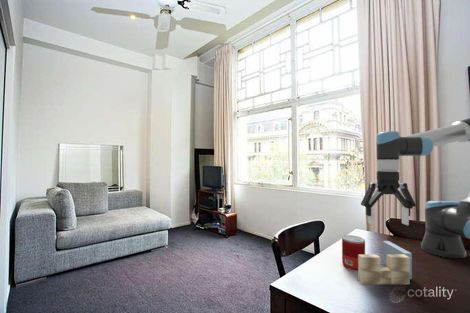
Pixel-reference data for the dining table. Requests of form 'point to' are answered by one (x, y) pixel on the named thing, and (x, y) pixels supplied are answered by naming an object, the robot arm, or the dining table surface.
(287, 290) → the dining table surface
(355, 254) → the canned food
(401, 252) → the pale blue plate
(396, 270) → the birch plate
